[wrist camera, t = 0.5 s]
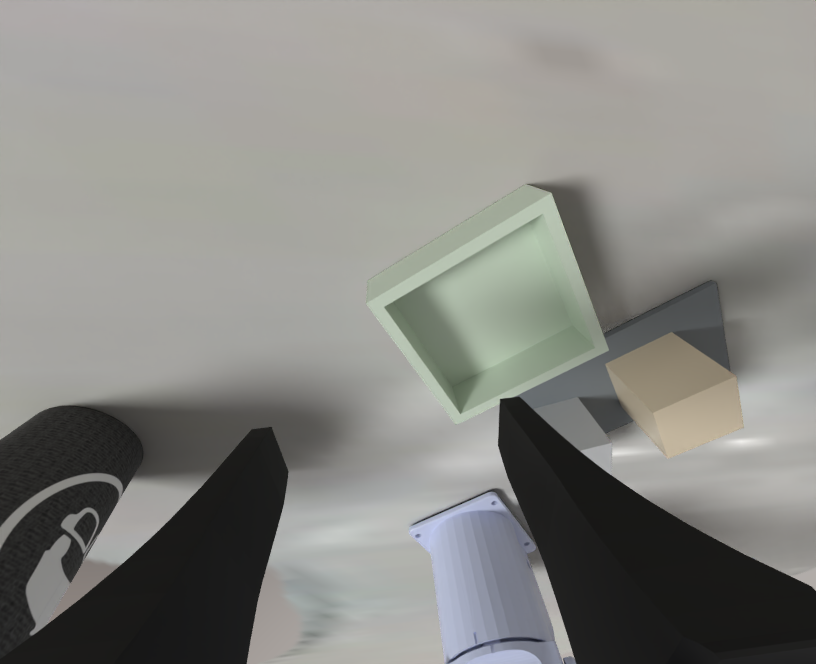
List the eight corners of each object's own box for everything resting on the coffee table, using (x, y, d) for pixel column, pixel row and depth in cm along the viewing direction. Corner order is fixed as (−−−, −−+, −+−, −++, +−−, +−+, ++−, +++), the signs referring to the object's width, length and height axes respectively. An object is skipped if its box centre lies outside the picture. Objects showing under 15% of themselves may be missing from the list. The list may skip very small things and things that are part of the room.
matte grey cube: (580, 440, 26) (611, 488, 22) (522, 455, 26) (545, 504, 23) (577, 397, 24) (612, 442, 20) (515, 413, 24) (539, 461, 21)
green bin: (581, 324, 21) (609, 350, 19) (447, 393, 23) (456, 425, 21) (525, 184, 17) (551, 193, 15) (367, 280, 19) (365, 303, 17)
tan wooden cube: (683, 378, 24) (744, 427, 20) (621, 406, 24) (667, 458, 20) (671, 332, 22) (736, 376, 18) (604, 364, 23) (653, 412, 19)
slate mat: (726, 374, 24) (731, 377, 24) (535, 459, 27) (537, 463, 27) (710, 280, 21) (716, 282, 20) (492, 389, 23) (493, 393, 23)
